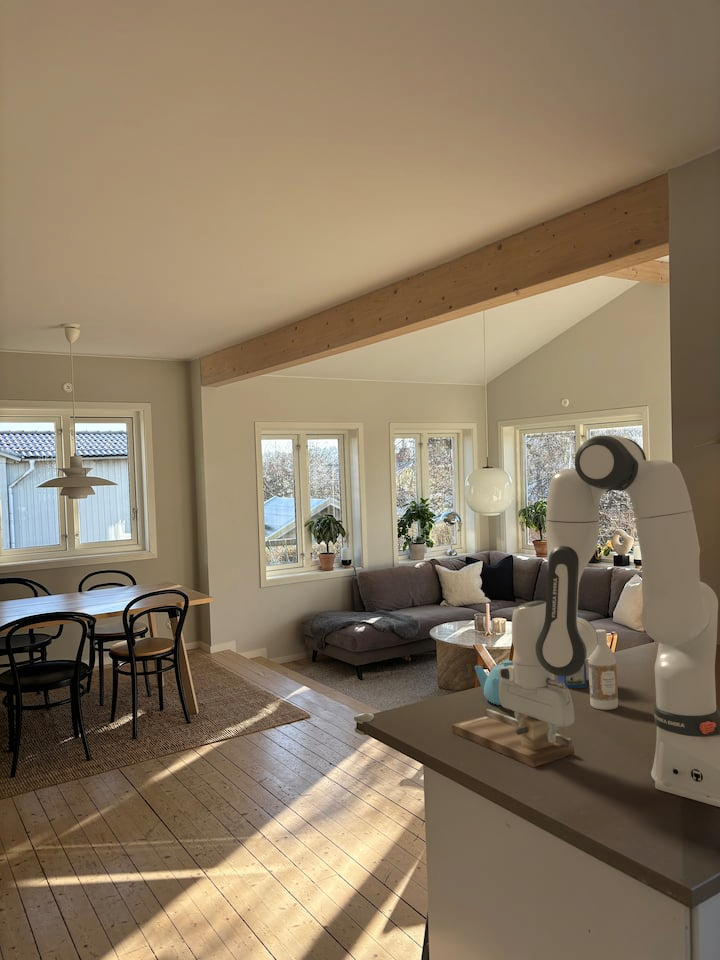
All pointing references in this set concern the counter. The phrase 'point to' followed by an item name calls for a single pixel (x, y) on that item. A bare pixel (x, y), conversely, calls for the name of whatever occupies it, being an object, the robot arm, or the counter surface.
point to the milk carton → (575, 676)
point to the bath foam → (603, 675)
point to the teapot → (491, 682)
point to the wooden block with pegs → (533, 733)
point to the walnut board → (510, 739)
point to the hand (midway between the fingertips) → (537, 736)
